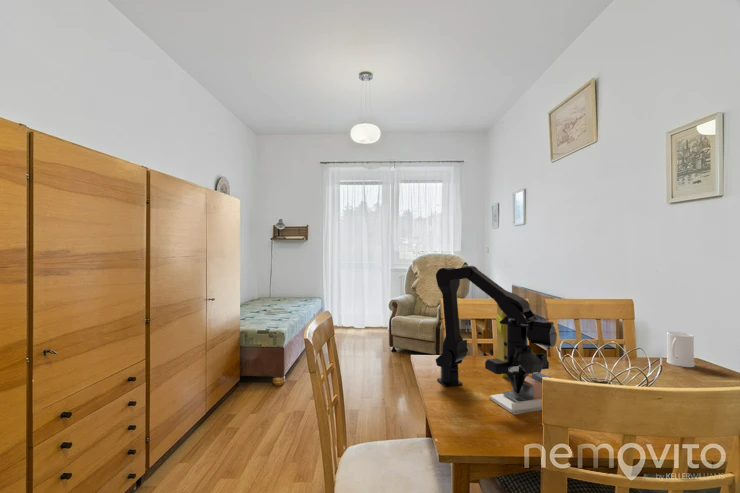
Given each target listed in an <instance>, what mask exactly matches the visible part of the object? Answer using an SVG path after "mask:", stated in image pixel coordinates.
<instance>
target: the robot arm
mask: <svg viewBox="0 0 740 493" xmlns="http://www.w3.org/2000/svg"><path fill="white" fill-rule="evenodd" d="M435 279H436V284H437V287H438V288H439V291H440V293H441V296H442V306H443V318H444V328H445V336H444V339H443V342H442V349H441V354H439V356H438V357H437V358H436V359H435V363H436V366H437V367H440V377H438V378H437V379H436V381H437V382H439V383H441V385H442V386H444V387H454V386H459V385H463V381H460V380H459V364H460V365H461V364H462V363H463V360H464V359H466V357H467V353H469V349H468V340H467V339H463V337H462V334H461V330H460V329H461V328H460V319H459V318H460V317H459V306H458V305H459V304H458V290H459V287H460V283H461V282H460V281H461V280H465V279H467V280H468V281H469V282H471V283H472V284H473V285H474V286H475V287H477V288H478V289H480V290H481V292H483V293H485V294H486V295H488V297H490V298H491V299H492V300H493V301H494V302H495V303H496V305H497V304H498V306H499V308H500V309H501V310H502V311H503V312H504V313H505V314H506V316H505V317H504V319H503V320H501V321H500V324H506V325H507V342H504V345H505V346H507V355H504V359H506V360H507V361H505V362H504V361H502V360H499V359H497V357H496V358H488V359H486V360H485V362H484V369H485V370H487V371H489V372H491V373H494V374H495V375H501V374H507V376H508V377H507V378H508V379H509V382H510V384H511V386H512V389H513V388H514V391H515V392H516V393H519V392H520V390H521V387H522V385H523V382H524V380H525V378H526V376H528V375H530V374H531V375H532V373H542V370H549V369H550V362H549V361H548V356H547V355H546V353H545V352H543V353H542V352H541V353H534V352H532V347H531V346H532V345H530V344H528V341H529V342H530V343H531V344H535V345H539V346H540V345H541V346H545V347H551V348H554V347H556V346H555V345H556V343H557V338H558V334H557V331H556V330H557V329H556V328H555V325H554V323H555V322H554V321H549V320H548V321H544V320H542V321H541V320H538V318H537V317H536V315H535V313H533V311H532V310H531V307H530V303H529V301H528V300H527V299H526V298H523V297H522V296H519V295H518V294H516V293H513V292H511V291H508V290H506V289H504V288H503V287H502V286H500V285H499V284H498V283H497V282H495V281H493V279H491V278H490V277H489V276H487V275H486V274H484V273H483V272H482V271H481V270H479V269H478V268H477V267H476V266H474V265H466V266H464V267H458V268H456V267H442V268H439V269H438V270H437V271H436V273H435Z"/></svg>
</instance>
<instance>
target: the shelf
mask: <svg viewBox="0 0 740 493" xmlns="http://www.w3.org/2000/svg"><path fill="white" fill-rule="evenodd" d="M542 377H549V378H552V377H550V376H548V375H546V374H544V373H542V372H540V373H538V372H536V373H532V374H531V378H532V379H534V380H536V381H539V382H541V383H542ZM489 400H491V401H492V402H494V403H496V404H497V405H499V406H500V407H502V408H503V409H504V410H506V411H508V412H510V413H511V414H513V415H520V414H521V415H522V414H525V413H526V414H527V413H534V412H537V411H542V410H541V409H542V398H541V399H535V400H528V401H522V402H515V401H514V400H512V399H510V398H509V397H507V396H505V395H504V394H503V393H497V394H491V395H489Z"/></svg>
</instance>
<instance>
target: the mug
mask: <svg viewBox="0 0 740 493" xmlns="http://www.w3.org/2000/svg"><path fill="white" fill-rule="evenodd" d="M694 337H695V336H694V335H693V334H691V333H688V332H687V333H686V332H681V331H668V332H666V349H667V350H666V356H667V357H666V364H667V363H668V364H670V365H671V366H672V365H673V366H676V367H682V368H694V367H696V364H695V354H694V352H695V346H694V345H695V344H694V343H695V342H694V341H695V340H694Z"/></svg>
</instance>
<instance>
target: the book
mask: <svg viewBox="0 0 740 493" xmlns="http://www.w3.org/2000/svg"><path fill="white" fill-rule="evenodd" d="M496 309H497V310H496V314H495V315H496V318H495V319H496V320H495V321H496V328H497V329H496V333H497V336H496V337H497V340H496V341H497V343H496V344H497V348H496V349H497V357H496V358H497V359H499V360H502V361H504V362H505V361H507V360H506V359H504V355H507V346H505V345H504V342H507V325H506V324H500V321H501V320H503V319H504V317H505V316H506V314H505V313H504V312H503V311H502V310H501V309H500V308H499V306H498V304H497V303H496ZM500 375H501V377H502V378H508V376H507V374H500Z"/></svg>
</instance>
